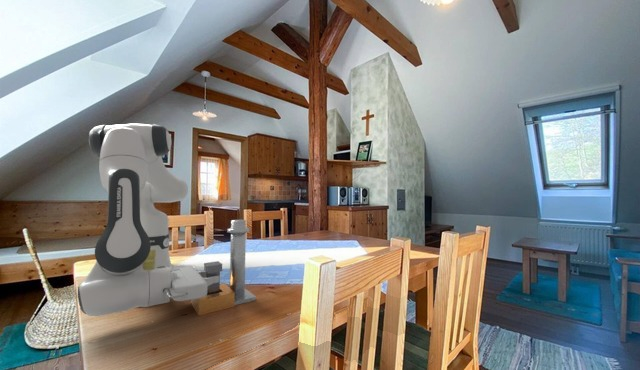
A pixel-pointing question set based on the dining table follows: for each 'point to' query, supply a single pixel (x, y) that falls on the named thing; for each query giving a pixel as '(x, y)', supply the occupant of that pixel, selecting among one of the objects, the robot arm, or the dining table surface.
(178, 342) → the dining table surface
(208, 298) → the metal post on base
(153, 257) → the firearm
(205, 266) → the grey square peg
